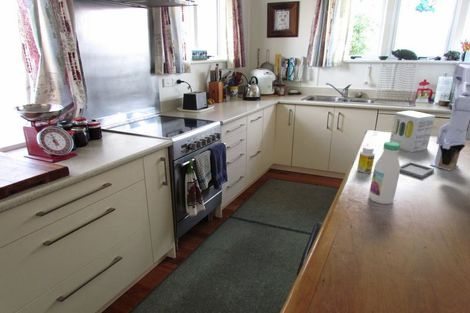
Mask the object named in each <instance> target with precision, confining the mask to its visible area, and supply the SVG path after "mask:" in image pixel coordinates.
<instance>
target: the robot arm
mask: <svg viewBox="0 0 470 313" xmlns="http://www.w3.org/2000/svg"><path fill="white" fill-rule="evenodd" d="M452 83H453V84H454V85H456V93H455V97H454V99H453V103H452V107H451V113H450V117H449V121H448V123H446V124H444V125H442V126H440V128H439V131H438V134H437V138H436V142H435V143H436V144H437V145H438V148H437V151H436V152H437V153H436V156H435V159H434V162H432V163H430V166H432V167H435V168H439V169H442V170H443V169H444V170H447V171H450V172H451V171H452V170H454V169H456V168H457V167H459V164H458V163H457V164H456V167H455V168H453V169H452V170H450V169H447V168H443V167H440V166H438V165H439V161H440V158H441V154H442V164H444V165H449V164H450V162H451V160H452V158H453V156H454V154H455V153H456V152H460V153H461V151H462V150H463V149H464V148H465V147H466V146H467V144H468V142H467V134H468V131H467V130H468V126H469V124H470V61H459V60H458V61H456V64H455V65H454V71H453V76H452Z"/></svg>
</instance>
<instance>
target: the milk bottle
mask: <svg viewBox="0 0 470 313" xmlns="http://www.w3.org/2000/svg"><path fill="white" fill-rule="evenodd" d="M399 152H400V145H399V144H398V143H394V142H390V141H385V142H384V144H383V152H382V153H381V154H380V156H379V158H378V159H377V161H376V162H375V165H374V168H373V172H372V178H371V183H370V188H369V193H368V198H369V199H370V200H371V201H373V203H374V202H375V203H377V204H381V205H389V204H390V205H391V204H393V202H394V201H395V200H394V199H395V196H396V195H395V194H396V191H397V186H398V182H399V179H400V174H401V172H400V166H401V164H400V160H399V156H398V155H399Z"/></svg>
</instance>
